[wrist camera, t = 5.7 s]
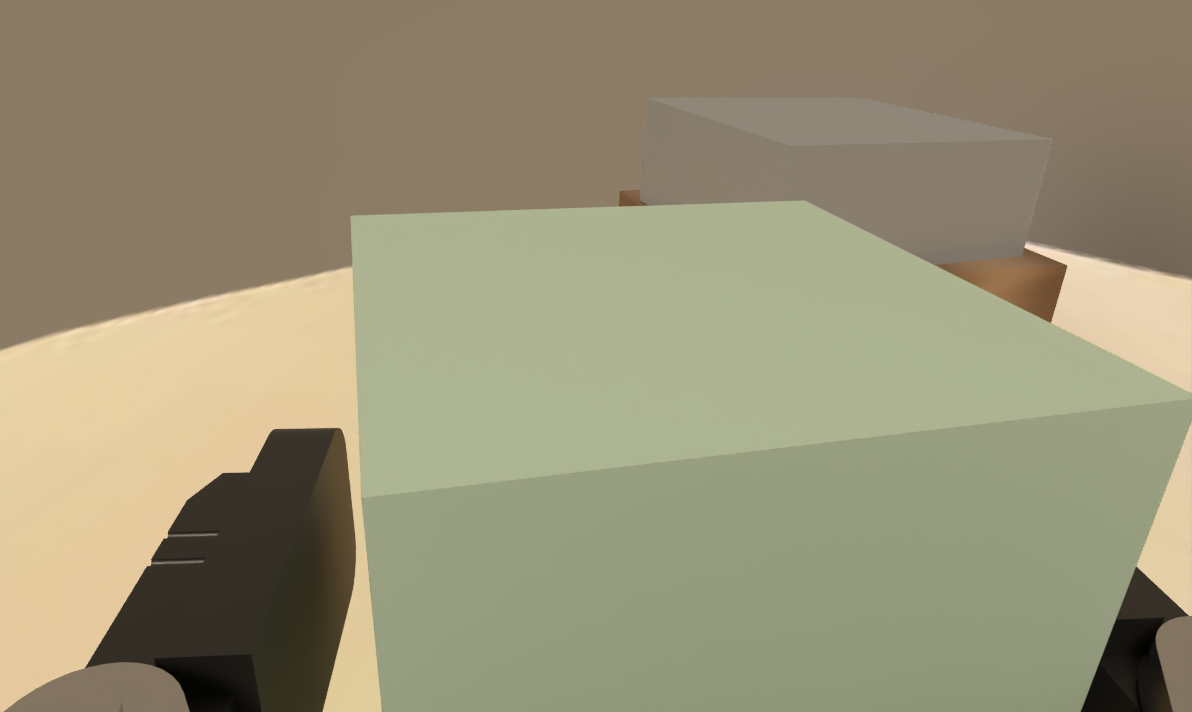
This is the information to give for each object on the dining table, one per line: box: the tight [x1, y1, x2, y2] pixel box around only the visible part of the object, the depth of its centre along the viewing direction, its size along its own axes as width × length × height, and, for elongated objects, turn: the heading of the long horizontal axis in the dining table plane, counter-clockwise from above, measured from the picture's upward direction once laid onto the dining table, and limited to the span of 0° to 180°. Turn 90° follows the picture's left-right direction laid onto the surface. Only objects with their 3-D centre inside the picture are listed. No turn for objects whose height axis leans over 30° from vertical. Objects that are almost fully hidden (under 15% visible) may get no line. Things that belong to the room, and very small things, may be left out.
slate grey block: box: [640, 98, 1053, 265], centre depth 30 cm, size 10×10×4 cm
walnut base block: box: [619, 190, 1067, 323], centre depth 32 cm, size 12×12×4 cm
